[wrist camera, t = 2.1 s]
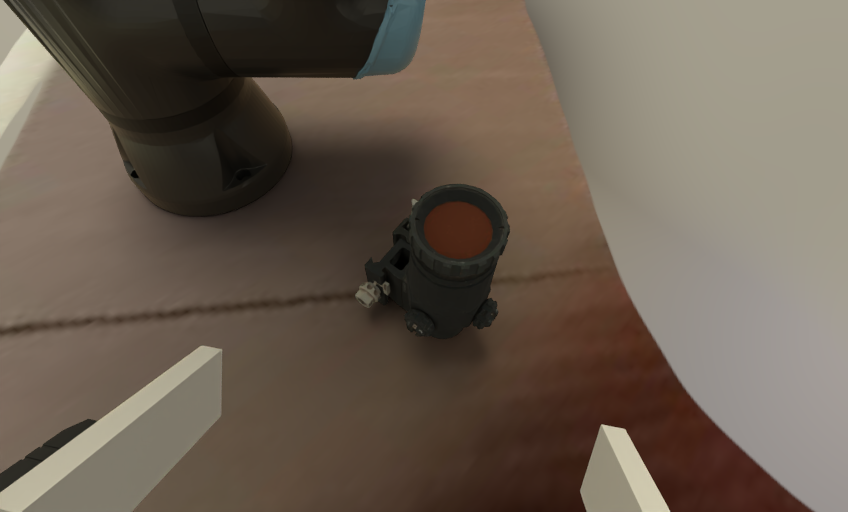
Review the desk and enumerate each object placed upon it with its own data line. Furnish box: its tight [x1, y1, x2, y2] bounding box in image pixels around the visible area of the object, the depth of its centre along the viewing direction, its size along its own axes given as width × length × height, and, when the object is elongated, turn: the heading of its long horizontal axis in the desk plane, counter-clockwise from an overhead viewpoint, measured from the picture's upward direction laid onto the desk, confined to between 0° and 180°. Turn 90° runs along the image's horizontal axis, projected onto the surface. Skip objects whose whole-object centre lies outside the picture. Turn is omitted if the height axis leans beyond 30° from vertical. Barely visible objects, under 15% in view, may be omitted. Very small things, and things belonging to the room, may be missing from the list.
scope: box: [355, 184, 510, 339], centre depth 28 cm, size 8×14×10 cm
